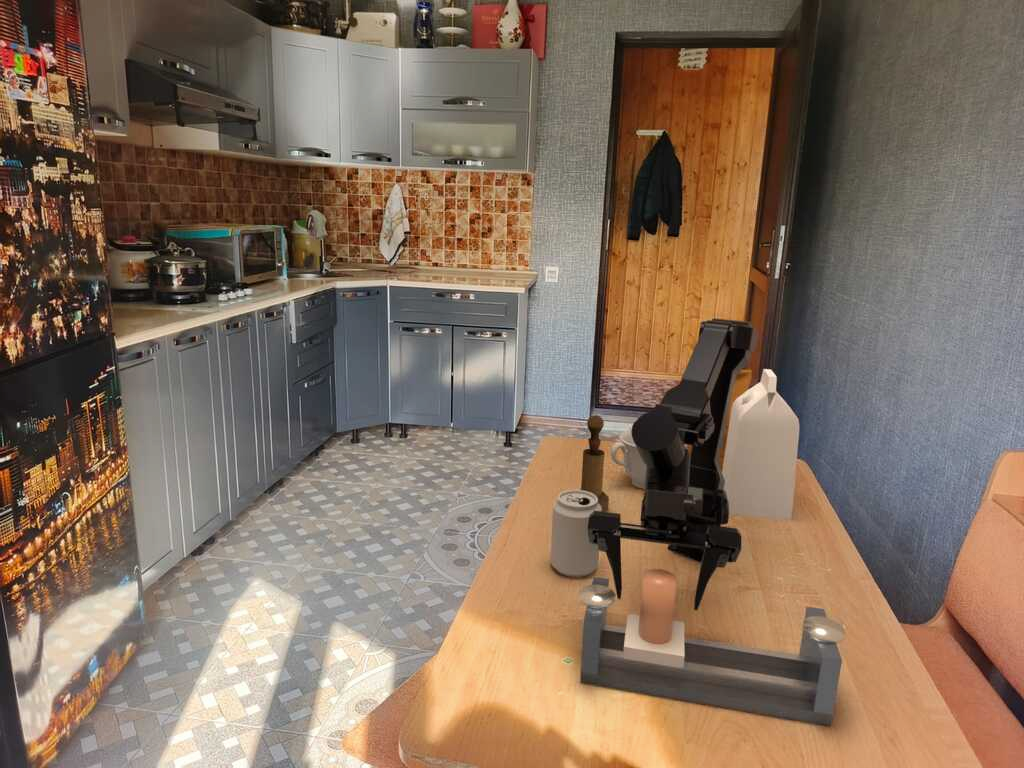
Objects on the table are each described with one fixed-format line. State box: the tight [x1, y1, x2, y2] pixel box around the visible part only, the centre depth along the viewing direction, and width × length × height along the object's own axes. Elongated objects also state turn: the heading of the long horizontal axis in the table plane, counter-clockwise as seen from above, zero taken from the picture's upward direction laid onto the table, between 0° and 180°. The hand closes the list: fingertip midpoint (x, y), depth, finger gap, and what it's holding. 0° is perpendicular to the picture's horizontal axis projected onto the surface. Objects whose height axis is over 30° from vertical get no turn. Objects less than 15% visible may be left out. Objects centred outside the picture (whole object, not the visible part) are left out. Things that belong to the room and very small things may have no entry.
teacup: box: [609, 428, 646, 490], centre depth 140 cm, size 12×15×10 cm
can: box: [550, 489, 602, 578], centre depth 108 cm, size 8×8×12 cm
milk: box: [722, 368, 800, 521], centre depth 131 cm, size 12×12×26 cm
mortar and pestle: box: [579, 414, 610, 512], centre depth 128 cm, size 7×6×18 cm
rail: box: [578, 576, 846, 727], centre depth 84 cm, size 30×10×9 cm, turn 77°
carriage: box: [623, 568, 685, 668], centre depth 84 cm, size 7×7×9 cm
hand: (657, 604), depth 85 cm, fingers open, 9 cm apart
